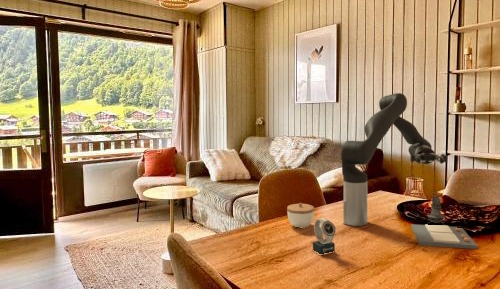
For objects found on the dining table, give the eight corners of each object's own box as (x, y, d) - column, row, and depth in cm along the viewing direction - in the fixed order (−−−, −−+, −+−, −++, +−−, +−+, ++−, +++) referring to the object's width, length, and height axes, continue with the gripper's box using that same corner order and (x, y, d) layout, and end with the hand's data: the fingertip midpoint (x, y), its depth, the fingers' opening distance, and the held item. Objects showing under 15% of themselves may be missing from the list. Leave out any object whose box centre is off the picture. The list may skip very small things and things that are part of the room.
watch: (324, 258, 111) (323, 224, 110) (309, 249, 118) (309, 217, 117) (338, 254, 113) (338, 221, 112) (323, 246, 121) (323, 214, 120)
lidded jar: (314, 222, 146) (314, 199, 145) (314, 231, 136) (314, 207, 135) (288, 221, 148) (287, 199, 147) (286, 230, 138) (285, 206, 137)
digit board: (419, 245, 119) (419, 238, 119) (411, 227, 136) (411, 221, 136) (477, 249, 114) (477, 242, 114) (461, 230, 131) (461, 224, 131)
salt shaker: (447, 227, 135) (448, 196, 134) (431, 227, 135) (432, 196, 134) (439, 222, 141) (440, 192, 140) (424, 222, 141) (425, 193, 140)
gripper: (408, 146, 166) (412, 152, 151) (442, 146, 162) (450, 152, 146) (408, 162, 167) (412, 169, 152) (441, 162, 163) (449, 170, 147)
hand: (430, 161), depth 149 cm, fingers open, 8 cm apart
